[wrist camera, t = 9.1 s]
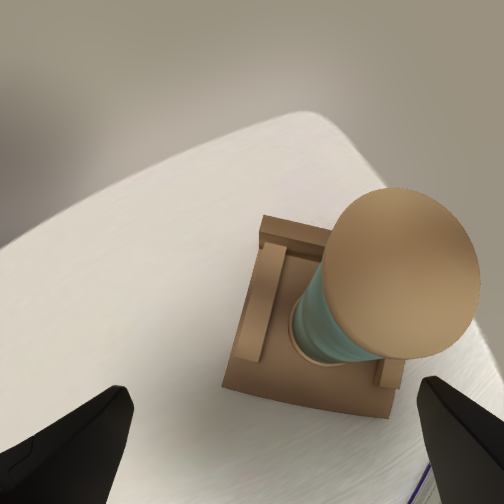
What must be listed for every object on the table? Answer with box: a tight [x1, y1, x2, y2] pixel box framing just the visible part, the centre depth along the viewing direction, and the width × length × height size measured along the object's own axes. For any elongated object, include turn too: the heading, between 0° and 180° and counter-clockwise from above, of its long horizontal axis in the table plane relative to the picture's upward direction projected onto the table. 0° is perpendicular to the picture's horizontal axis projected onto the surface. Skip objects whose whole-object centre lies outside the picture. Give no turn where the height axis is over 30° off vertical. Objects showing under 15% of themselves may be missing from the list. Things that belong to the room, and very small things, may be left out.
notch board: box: [222, 215, 405, 419], centre depth 20 cm, size 11×12×4 cm
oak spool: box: [288, 188, 480, 367], centre depth 15 cm, size 6×6×13 cm
